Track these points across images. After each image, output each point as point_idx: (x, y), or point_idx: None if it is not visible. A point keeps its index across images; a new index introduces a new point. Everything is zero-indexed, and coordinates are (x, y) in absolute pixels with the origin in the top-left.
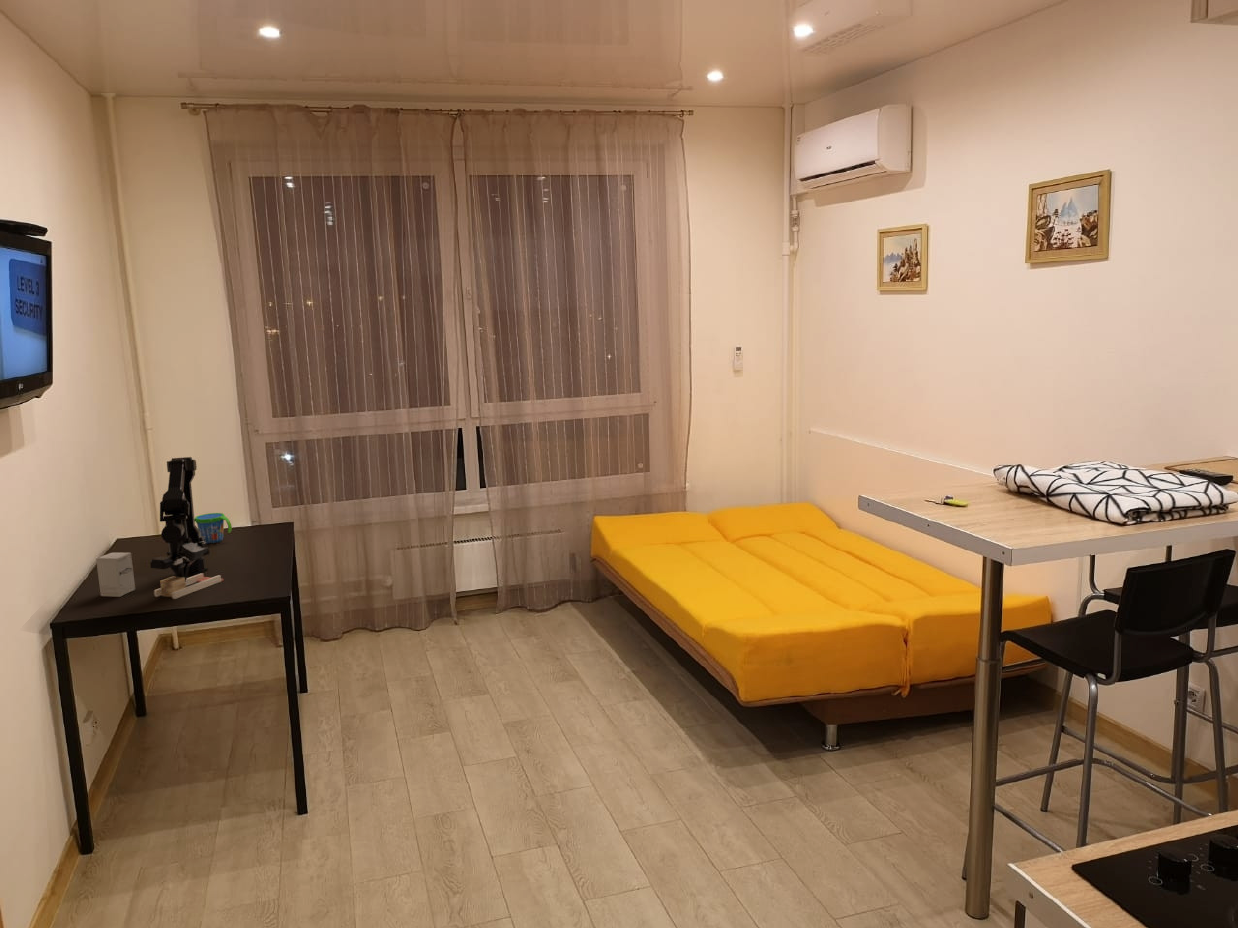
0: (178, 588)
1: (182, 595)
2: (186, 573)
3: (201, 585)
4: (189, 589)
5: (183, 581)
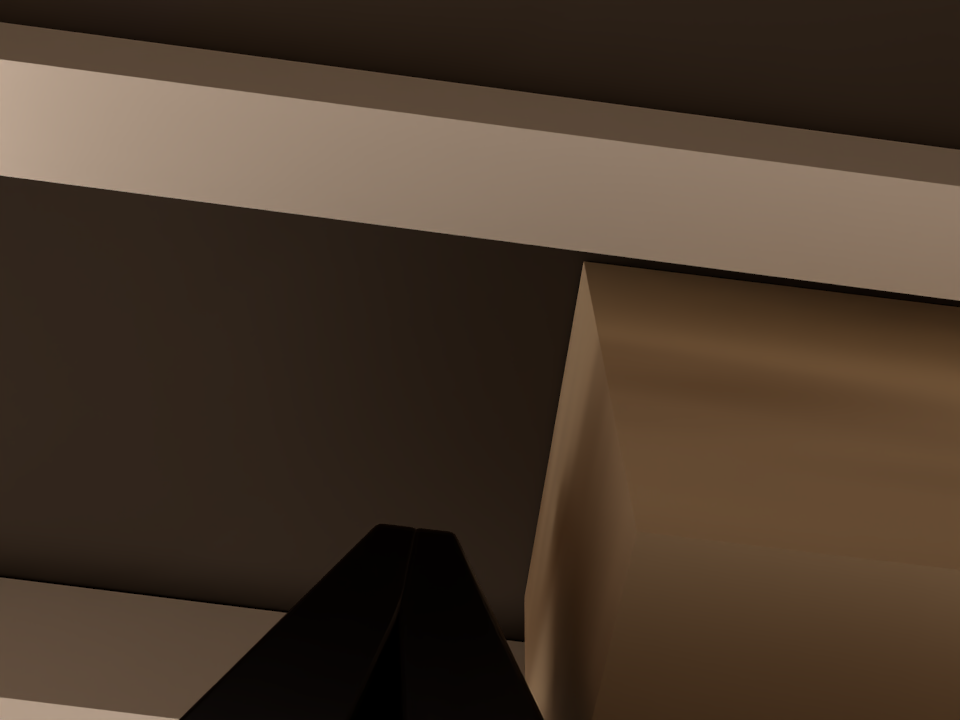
0: (908, 380)
1: (918, 147)
2: (274, 718)
3: (137, 57)
4: (650, 132)
5: (706, 442)
